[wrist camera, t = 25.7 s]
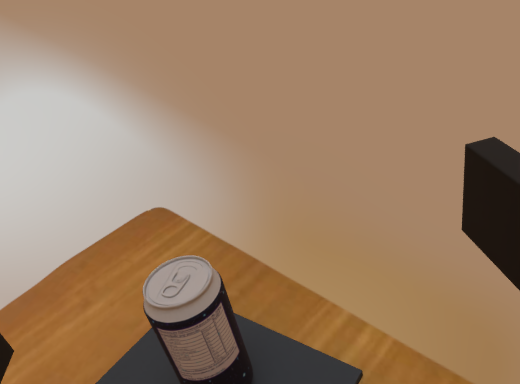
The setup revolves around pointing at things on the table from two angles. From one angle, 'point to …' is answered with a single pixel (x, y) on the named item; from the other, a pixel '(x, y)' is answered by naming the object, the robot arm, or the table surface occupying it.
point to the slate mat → (260, 354)
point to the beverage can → (196, 323)
